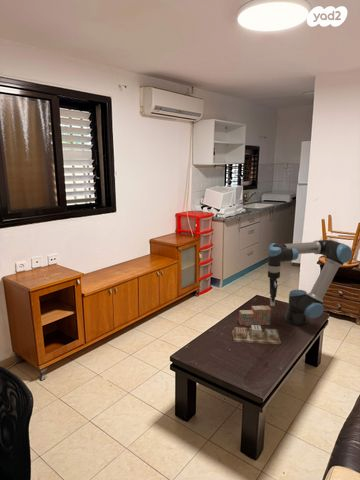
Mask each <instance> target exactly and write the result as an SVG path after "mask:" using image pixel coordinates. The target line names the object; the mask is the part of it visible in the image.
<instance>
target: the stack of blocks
mask: <svg viewBox="0 0 360 480" xmlns="http://www.w3.org/2000/svg"><path fill="white" fill-rule="evenodd" d="M271 318H272V308H271V306H270V305H251V309H244V310H243V309H242V310H241V309H240V310H239V311H238V323H239V325H240V327H241V326H243V327H244V326H251V325H259V326H270V325H271Z"/></svg>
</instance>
